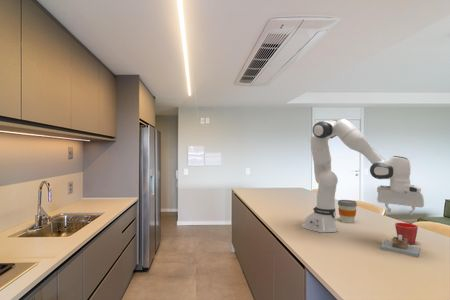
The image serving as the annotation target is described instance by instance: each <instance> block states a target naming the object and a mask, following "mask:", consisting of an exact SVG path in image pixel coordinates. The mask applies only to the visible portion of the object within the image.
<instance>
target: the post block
mask: <svg viewBox="0 0 450 300" xmlns="http://www.w3.org/2000/svg"><path fill="white" fill-rule="evenodd" d="M398 240H402V235H398ZM379 247H380V250H384V251H388V252H391V253H392V252H393V253H398V254H402V255H406V256H411V257H416V258H419V256H420V251H421V246H414V245H411V244H408V247H407V249H406V250H405V249H400V248H395V247H392V241H390V240H383V242H382V243H381V244H380V245H379Z"/></svg>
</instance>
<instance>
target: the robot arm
mask: <svg viewBox="0 0 450 300" xmlns="http://www.w3.org/2000/svg"><path fill="white" fill-rule="evenodd" d="M335 137H338V138H339V139H340V140H341V142H342V143H343V144H344V145H345V146H346V147H348V148H349V149H350V150H353V151H356V152H358V153H360V154H361V155H363V156H364V157H365V158H366V159H367V161H369V162H370V164H371V166H370V168H369V172H370V175H371V177H373V178H374V179H376V180H389V185H379V186H377V187H376V192H377V199H376V200H377V202H378V203H381V204H382V203H383V204H384V206H385V208H386V210H387V211H386V212H387V213H391V212H392V211H391V210H392V209H391V208H390V207H389V204H390V205H391V204H392V205H397V206H398V205H399V206H406V207H411V210H409V211H408V216H413V213H414V211H415V209H416V208H423V207H424V206H425V200H424V195H423V193H422V190H421V189H422V188H421V187H419V186H417V185H413V184H411V179H410V176H411V163H410V160H409V159H408V158H407V157H404V156H400V155H392V156H390V157H389V158H387V159H385V158H383V156H381V154H379V153H378V152H377V151H376V150H375V149H374V147H373V146H371V145H372V144H370V143H369V141H368V139H366V137H365V136H364V135H363V133H362V132H361V130H360V129H359V128H357V127H356V125H354V124H353V122H351V121H349V120H348V119H346V118H340V119H338V120H336V119H332V120H331V119H326V120H324V121H318V122H316V123H314V125H313V126H312V136H311V137H310V149H311V150H310V151H311V154H312V162H313V170H314V171H313V172H314V178H315V181H316V183H317V184H318V186H317V192H316V193H317V194H316V206H315V207H313V209H312V210H313V212H312V213H310V214H309V215H308V216H306V218H304V219H305V220H304V223H302V224H301V228H303V229H306V230H309V231H314V232H318V233H336V232H338V229H337V228H338V227H337V223H336V204H335V203H336V192H337V184H338V182H339V181H338V176H337V174H336V173H335V172H334V171H332V156H331V152H330V147H329V139H333V138H335Z"/></svg>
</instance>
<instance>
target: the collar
mask: <svg viewBox="0 0 450 300" xmlns="http://www.w3.org/2000/svg"><path fill="white" fill-rule="evenodd" d="M391 242H392V247H395V248H400V249H405V250H406V249H407V247H408V245H409V244H408V239H405V238H402V240H398V237H397V236H393V238H392V239H391Z"/></svg>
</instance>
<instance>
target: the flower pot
mask: <svg viewBox="0 0 450 300" xmlns="http://www.w3.org/2000/svg"><path fill="white" fill-rule="evenodd" d="M394 226H395V227H394V228H395V230H396V237H398V235H402V238H405V239H408V245H414V244H415V243H416V240H417V239H416V238H417V234H418V228H419V227H418V225H416V224H413V223H408V222H395V224H394Z"/></svg>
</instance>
